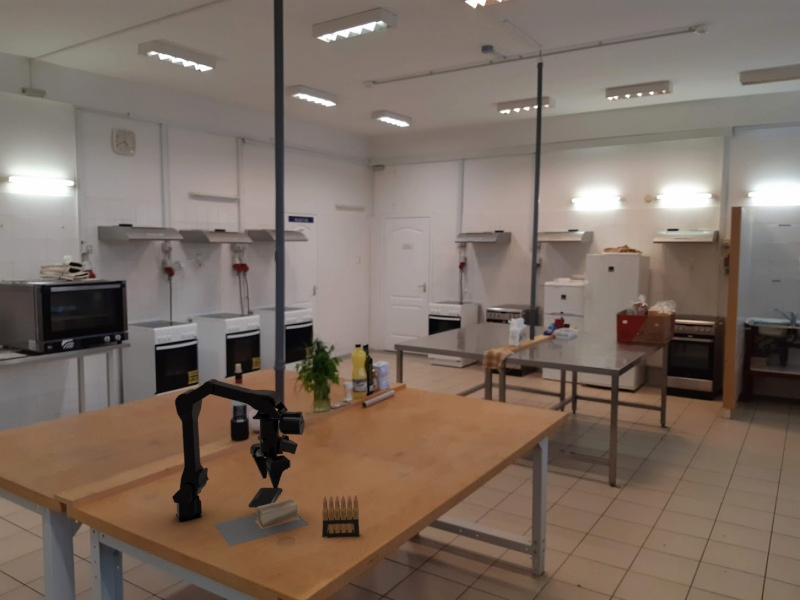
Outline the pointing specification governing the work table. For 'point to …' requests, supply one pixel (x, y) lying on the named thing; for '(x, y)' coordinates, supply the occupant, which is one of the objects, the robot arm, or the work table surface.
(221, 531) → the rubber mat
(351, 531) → the ammunition clip
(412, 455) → the work table surface
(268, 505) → the ash block
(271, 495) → the phone
